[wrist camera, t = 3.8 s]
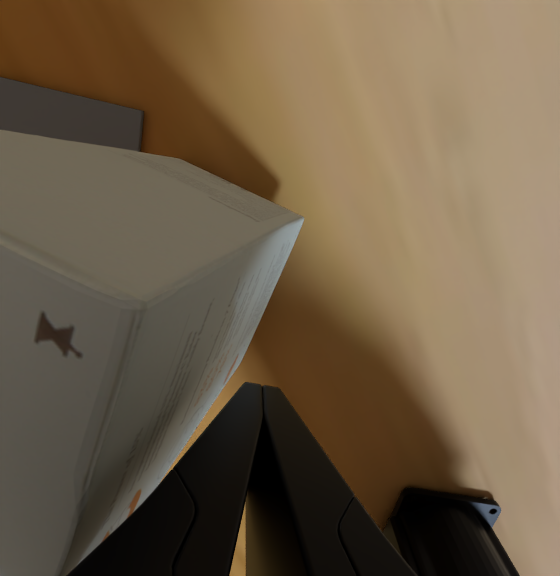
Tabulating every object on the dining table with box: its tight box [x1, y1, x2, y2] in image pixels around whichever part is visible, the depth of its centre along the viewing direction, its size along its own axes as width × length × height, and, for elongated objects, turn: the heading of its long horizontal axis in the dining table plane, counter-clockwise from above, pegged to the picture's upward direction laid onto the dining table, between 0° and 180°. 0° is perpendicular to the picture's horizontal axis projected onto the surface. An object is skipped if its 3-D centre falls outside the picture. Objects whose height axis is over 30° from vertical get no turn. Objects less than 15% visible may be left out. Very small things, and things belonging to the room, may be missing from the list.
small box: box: [0, 130, 304, 576], centre depth 11 cm, size 8×6×13 cm
